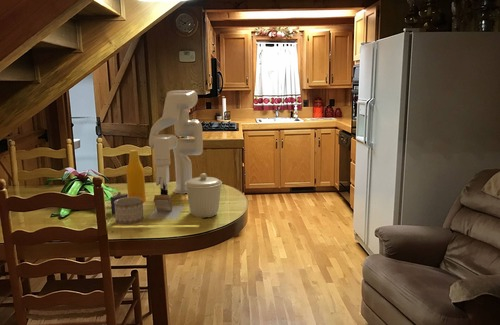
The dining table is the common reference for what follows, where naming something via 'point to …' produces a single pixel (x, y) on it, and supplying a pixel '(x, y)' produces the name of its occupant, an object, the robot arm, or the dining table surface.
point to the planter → (129, 210)
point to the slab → (163, 203)
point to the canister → (203, 195)
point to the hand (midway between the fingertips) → (164, 197)
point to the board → (166, 213)
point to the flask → (116, 199)
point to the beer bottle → (135, 176)
